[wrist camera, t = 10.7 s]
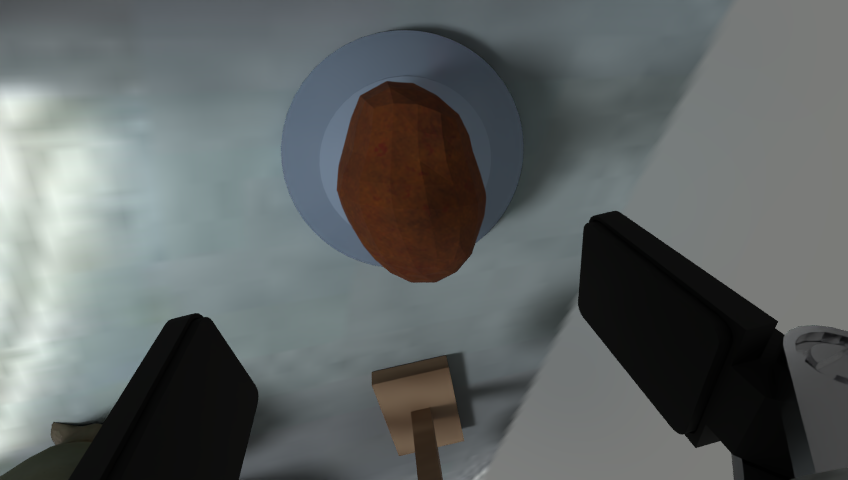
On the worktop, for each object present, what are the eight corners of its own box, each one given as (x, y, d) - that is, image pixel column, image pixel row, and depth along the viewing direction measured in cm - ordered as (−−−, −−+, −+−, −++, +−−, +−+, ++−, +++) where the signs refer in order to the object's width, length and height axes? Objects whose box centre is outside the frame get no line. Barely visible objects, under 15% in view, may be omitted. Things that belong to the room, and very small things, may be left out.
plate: (243, 60, 17) (235, 62, 16) (511, 5, 17) (520, 3, 16) (328, 278, 24) (326, 289, 23) (521, 235, 24) (528, 244, 23)
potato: (483, 79, 18) (536, 100, 12) (461, 244, 22) (491, 314, 17) (337, 70, 17) (321, 88, 11) (345, 245, 21) (336, 319, 16)
